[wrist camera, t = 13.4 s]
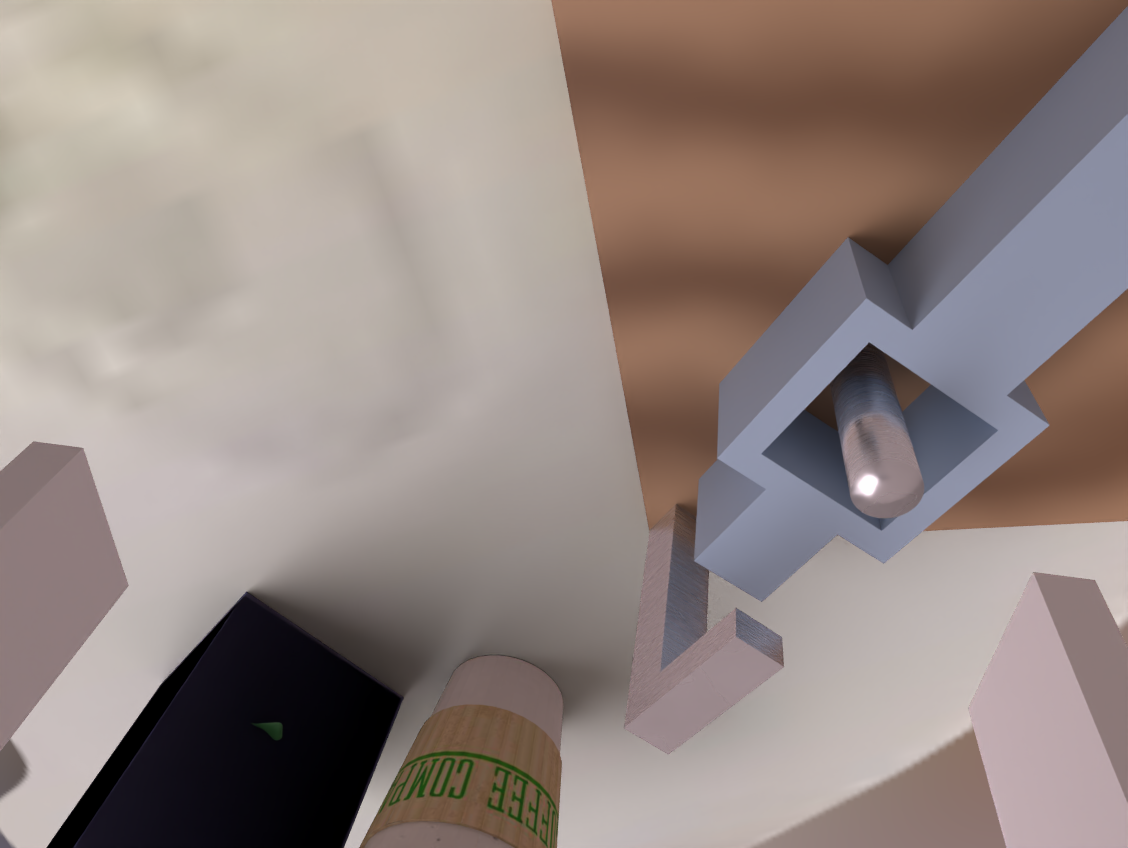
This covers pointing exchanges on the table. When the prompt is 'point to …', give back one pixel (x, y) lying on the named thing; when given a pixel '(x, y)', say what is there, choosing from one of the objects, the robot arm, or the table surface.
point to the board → (816, 205)
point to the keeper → (689, 644)
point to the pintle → (875, 438)
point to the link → (929, 336)
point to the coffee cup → (480, 765)
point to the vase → (242, 747)
